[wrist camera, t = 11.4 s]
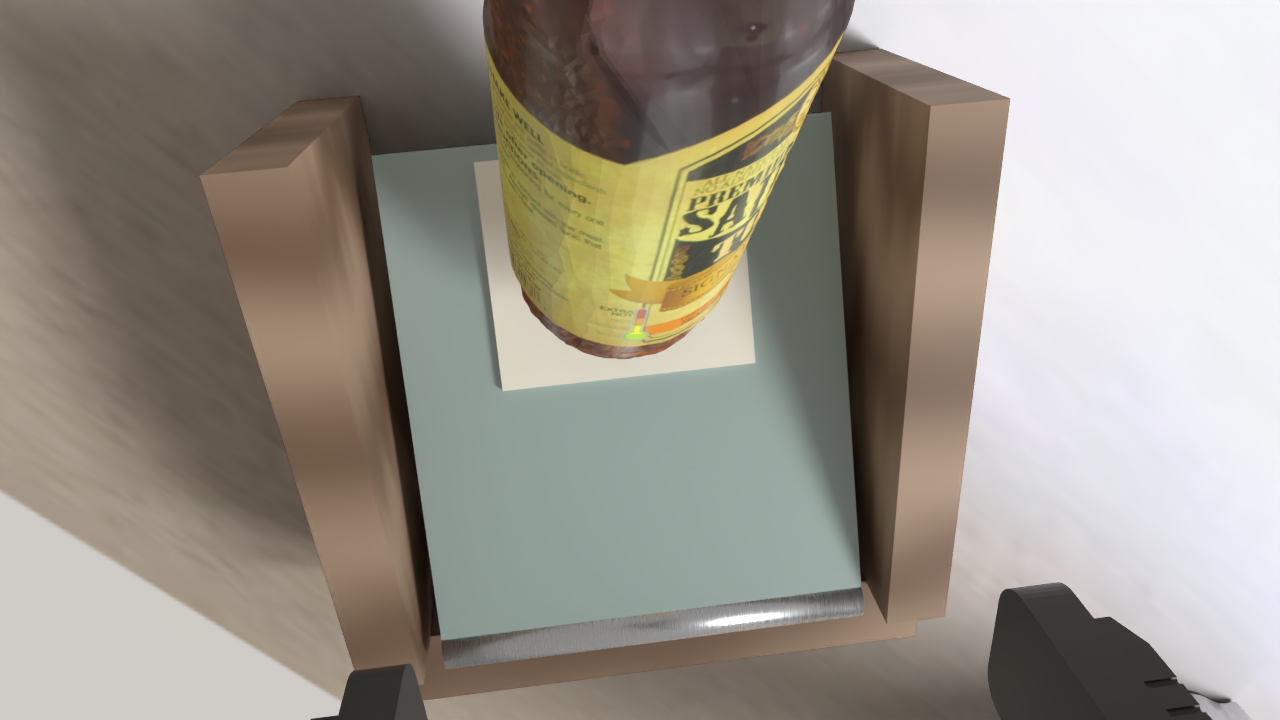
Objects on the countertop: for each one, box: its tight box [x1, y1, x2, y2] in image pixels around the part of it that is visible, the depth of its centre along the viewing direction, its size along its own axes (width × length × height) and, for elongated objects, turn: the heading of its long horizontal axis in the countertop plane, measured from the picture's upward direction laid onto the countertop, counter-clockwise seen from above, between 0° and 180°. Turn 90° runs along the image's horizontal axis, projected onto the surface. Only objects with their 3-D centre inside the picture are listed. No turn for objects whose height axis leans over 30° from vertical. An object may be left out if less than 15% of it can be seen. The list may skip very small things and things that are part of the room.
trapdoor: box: [371, 112, 864, 669], centre depth 28 cm, size 17×14×1 cm
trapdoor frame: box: [199, 49, 1010, 700], centre depth 29 cm, size 20×19×9 cm
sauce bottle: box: [483, 0, 855, 359], centre depth 16 cm, size 6×6×20 cm
